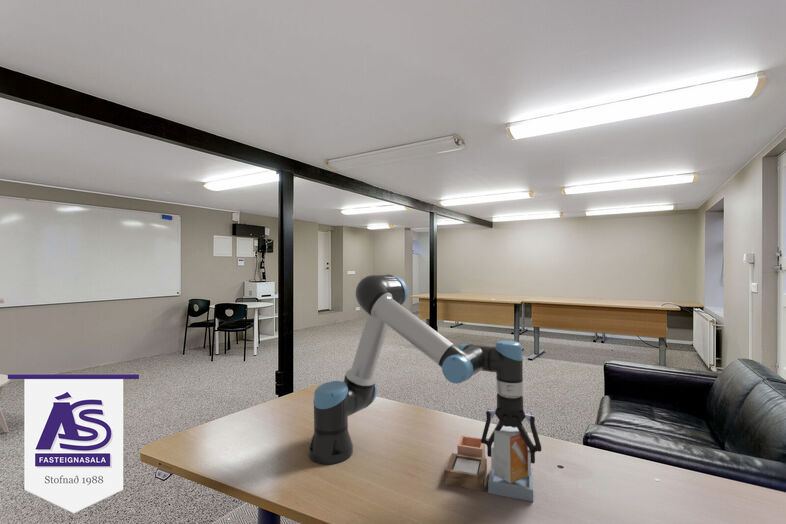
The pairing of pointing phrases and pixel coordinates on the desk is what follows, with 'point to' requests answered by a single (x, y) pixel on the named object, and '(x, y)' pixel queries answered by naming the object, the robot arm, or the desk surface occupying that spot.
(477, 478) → the brown wooden square tray
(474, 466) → the plate
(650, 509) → the desk surface
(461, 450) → the pink open box
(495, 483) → the tray
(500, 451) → the small box
